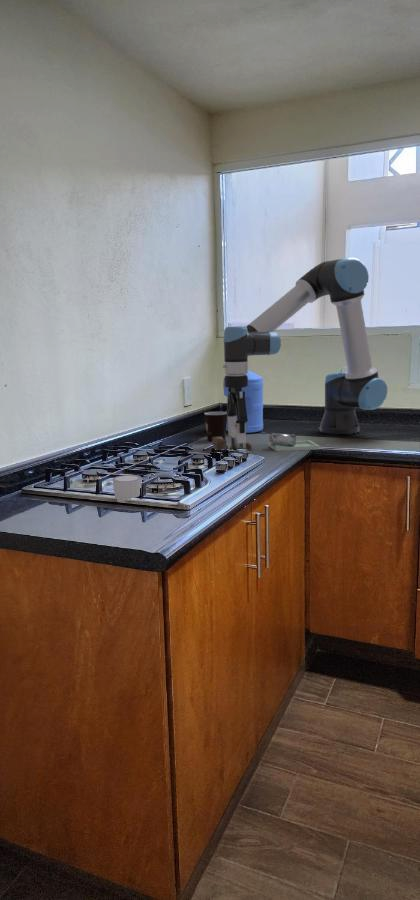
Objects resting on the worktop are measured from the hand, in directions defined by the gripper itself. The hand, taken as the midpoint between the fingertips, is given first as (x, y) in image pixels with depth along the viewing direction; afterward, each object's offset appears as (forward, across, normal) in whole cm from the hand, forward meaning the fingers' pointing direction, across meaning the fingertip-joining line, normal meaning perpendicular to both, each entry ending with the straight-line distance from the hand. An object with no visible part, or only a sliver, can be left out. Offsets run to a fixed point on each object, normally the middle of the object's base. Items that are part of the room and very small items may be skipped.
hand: (236, 439), depth 199 cm
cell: (+4, 0, 0) cm, 4 cm away
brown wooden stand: (+4, 0, 0) cm, 4 cm away
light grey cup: (+4, +54, -38) cm, 66 cm away
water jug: (+4, -39, +12) cm, 41 cm away
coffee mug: (+4, -22, -2) cm, 23 cm away
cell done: (+2, 0, +20) cm, 20 cm away
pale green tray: (+4, 0, +20) cm, 20 cm away
